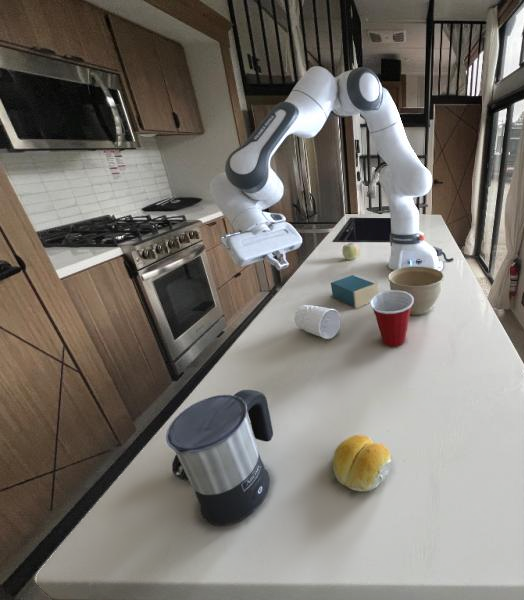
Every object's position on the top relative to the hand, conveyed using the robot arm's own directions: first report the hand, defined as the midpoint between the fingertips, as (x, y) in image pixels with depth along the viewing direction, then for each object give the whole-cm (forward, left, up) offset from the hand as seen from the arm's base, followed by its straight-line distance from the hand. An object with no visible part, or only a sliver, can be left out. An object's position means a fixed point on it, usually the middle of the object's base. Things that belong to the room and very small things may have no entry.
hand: (283, 267), depth 87 cm
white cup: (-5, +4, -13) cm, 14 cm away
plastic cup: (-31, +8, -16) cm, 36 cm away
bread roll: (-32, +44, -16) cm, 57 cm away
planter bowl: (-35, -11, -16) cm, 40 cm away
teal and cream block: (-9, -20, -14) cm, 26 cm away
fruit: (-2, -56, -16) cm, 58 cm away
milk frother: (-11, +49, -16) cm, 53 cm away
